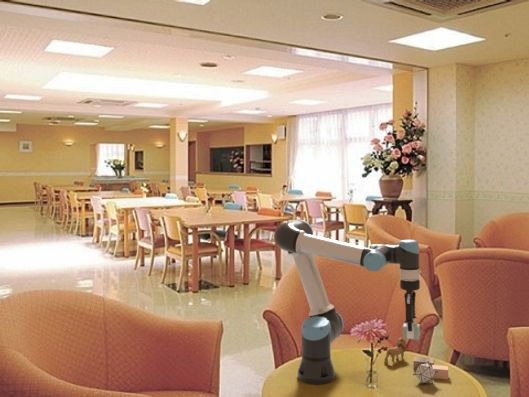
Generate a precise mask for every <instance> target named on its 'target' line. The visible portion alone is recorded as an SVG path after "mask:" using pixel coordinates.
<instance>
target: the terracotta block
mask: <svg viewBox="0 0 529 397" xmlns="http://www.w3.org/2000/svg"><path fill="white" fill-rule="evenodd" d="M432 368H433V369H434V370H435V371H438V372H436V374H435V376H434V378H433V379H441V380H449V366H448V365H437V364H434V365H432Z"/></svg>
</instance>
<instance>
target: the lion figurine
mask: <svg viewBox="0 0 529 397" xmlns="http://www.w3.org/2000/svg"><path fill="white" fill-rule="evenodd" d="M406 349H407V342H406V339H403V337H398V338H397V339H396V345H395V346H394V347H389V348H387V350H386V354H385V357H384V363H383V364H385V365H386V366H388V365H389V362H388V358H389V357H391V362H392V364H393V365H397V361H396V362H395V359H396V360H399V359H401V361H405V358H404V355H405V352H406ZM399 355H400V358H399Z"/></svg>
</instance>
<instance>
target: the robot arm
mask: <svg viewBox="0 0 529 397" xmlns="http://www.w3.org/2000/svg"><path fill="white" fill-rule="evenodd" d="M313 230H314V229H313V227H312V226H311V225H310V223H309V222H307V221H306V220H303V219H292V220H290V221H287V222H284V223H281V224H280V225H278V226H277V227H276V229H275V231H274V232H273V239H274V243H275V244H276V245H277V247H278V248H279V249H281V250H283V251H285V252H287V253H288V255H289V256H291V257H292V258H293V261H294V263H295V267H296V269H297V274H298V276H299V279H300V281H301V284H302V287H303V291H304V293H305V296H306V299H307V302H308V306H309V309H310V311H309V313H308V316H309V317H308V318H306V319H304V320H303V322H302V324H301V330H300V332H301V359H300V364H299V366H298V368H297V369H298V370H297V378H298V379H299V380H300V381H301V382H303V383H306V384H309V385H311V384H312V385H325V384H329V383H331V382H334V380H335V379H336V370H335V367H334V364H333V362H332V359H331V355H332V354H331V352H332V351H331V344H332V343H333V342H334V341H335V340H336V339H337V338H338V337H340V335H341V334H342V332H343V329H344V319H343V317H342V315H341V314H340V313H338V312H337V311H336V308H335V306H334V304H331V303H330V300H329V297H328V295H327V292H326V289H325V285H324V283H323V281H322V277H321V274H320V271H319V267H318V265H317V262H316V259H315V256H317V257H321V258H326V259H330V260H335V261H338V262H343V263H347V264H351V265H356V266H359V267H363V268H365V269H366V270H368V271H369V272H372V273H375V272H378V271H380V270H382V269H384V268H385V267H386V266H387V264H395V265H398V264H399V278H400V279H399V286H400V289H401V290H403V291H405V293H404V302H405V303H404V304H405V320H404V323H406V325H407V338H408V339H407V340H415V339H414V324H416V319H417V318H418V316H417V315H416V295H417V294H416V291H418V290H419V289H420V288H421V286H420V285H421V281H420V274H421V273H422V271H421V270H420V248H419V242H418V241H417V240H415V239H402V240H399V242H398V243H399V244H381V243H377V244H370V245H369V247H365V246H362V245H356V244H353V243H348V242H343V241H339V240H336V239H335V240H334V239H330V238H326V237H322V236H317V235H314V231H313Z"/></svg>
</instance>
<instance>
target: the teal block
mask: <svg viewBox="0 0 529 397" xmlns="http://www.w3.org/2000/svg"><path fill="white" fill-rule="evenodd" d="M402 335H403V336H402V338H403V339H404V340H409V339H408V338H407V325H406V323H405V322H404V323H403V325H402ZM420 337H421V334H420V323H419V324H418V323H415V324H414V339H413V340H416V341H417V340H418V341H419V340H420Z"/></svg>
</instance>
